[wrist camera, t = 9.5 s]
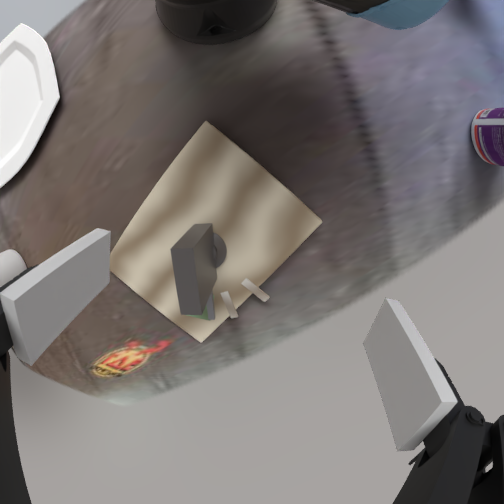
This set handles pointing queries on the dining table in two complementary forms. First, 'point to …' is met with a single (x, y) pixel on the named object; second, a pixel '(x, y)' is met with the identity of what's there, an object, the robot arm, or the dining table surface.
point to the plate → (24, 97)
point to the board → (224, 228)
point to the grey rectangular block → (195, 270)
